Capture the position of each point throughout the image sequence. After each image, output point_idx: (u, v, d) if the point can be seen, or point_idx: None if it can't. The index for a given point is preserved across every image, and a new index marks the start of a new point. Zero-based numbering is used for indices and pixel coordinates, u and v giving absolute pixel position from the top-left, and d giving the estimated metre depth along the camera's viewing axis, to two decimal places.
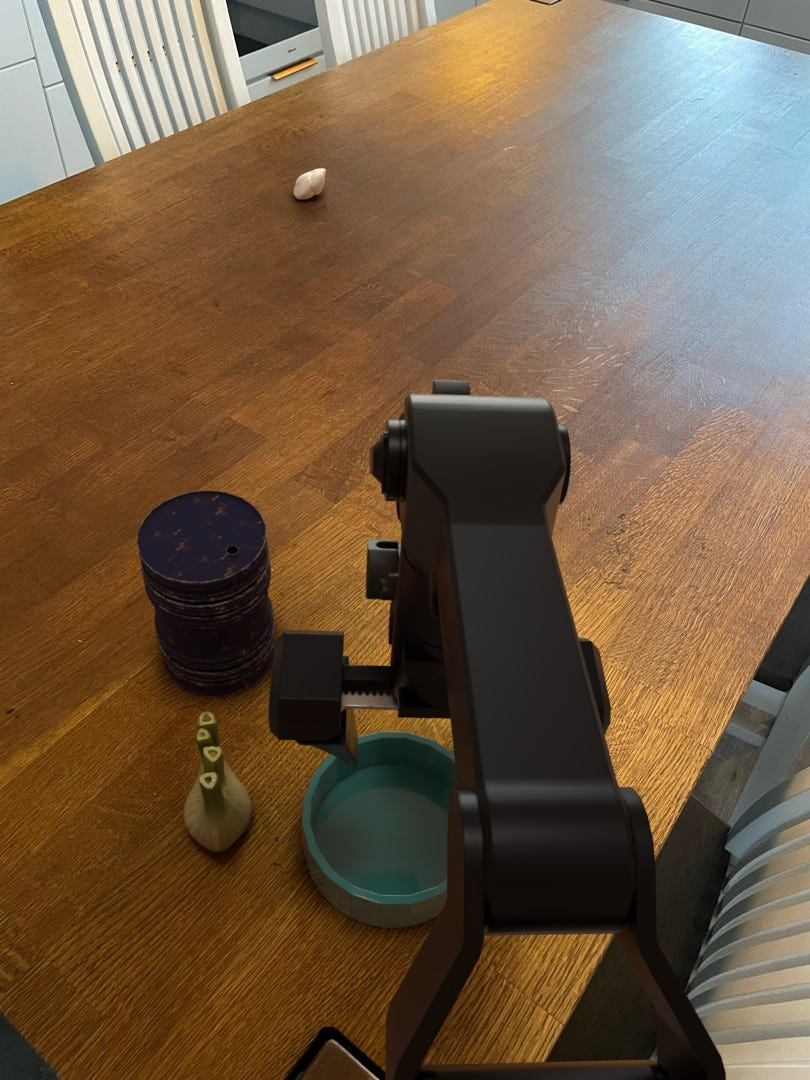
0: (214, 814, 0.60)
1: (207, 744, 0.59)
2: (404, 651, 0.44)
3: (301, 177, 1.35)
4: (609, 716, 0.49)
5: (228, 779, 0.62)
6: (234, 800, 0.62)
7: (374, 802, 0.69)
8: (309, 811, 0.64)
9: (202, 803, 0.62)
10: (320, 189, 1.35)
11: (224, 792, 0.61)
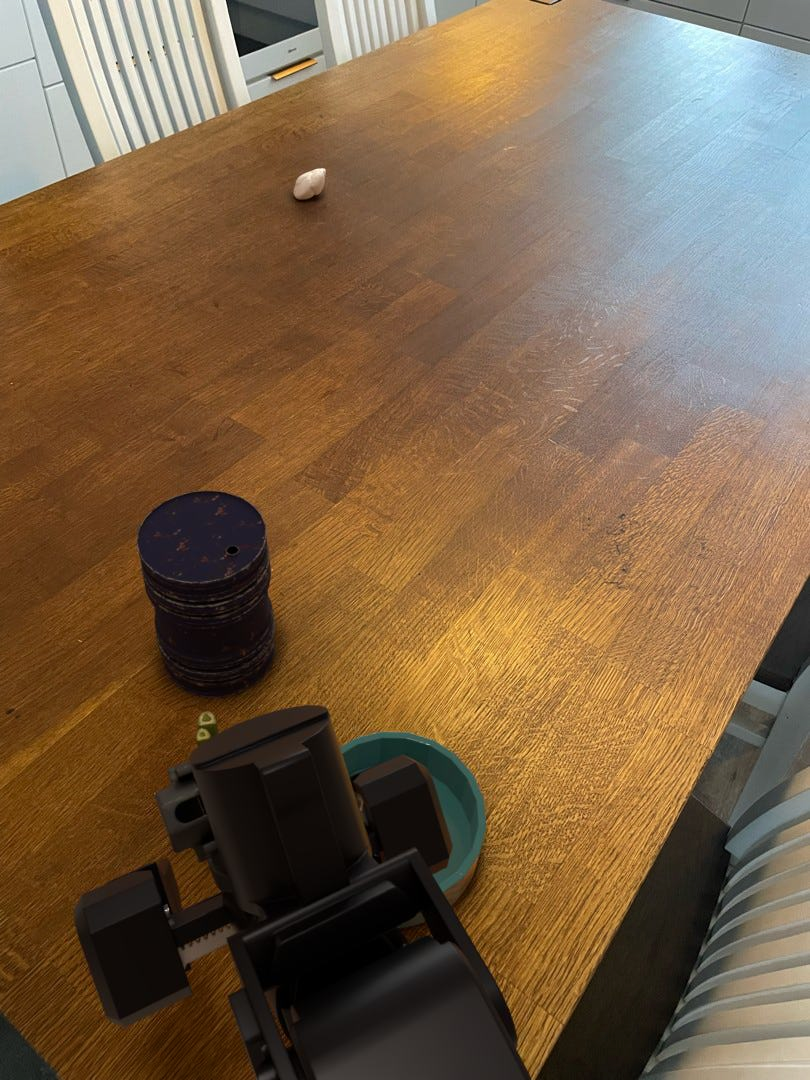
0: None
1: None
2: None
3: (301, 177, 1.35)
4: None
5: None
6: None
7: None
8: None
9: None
10: (320, 189, 1.35)
11: None
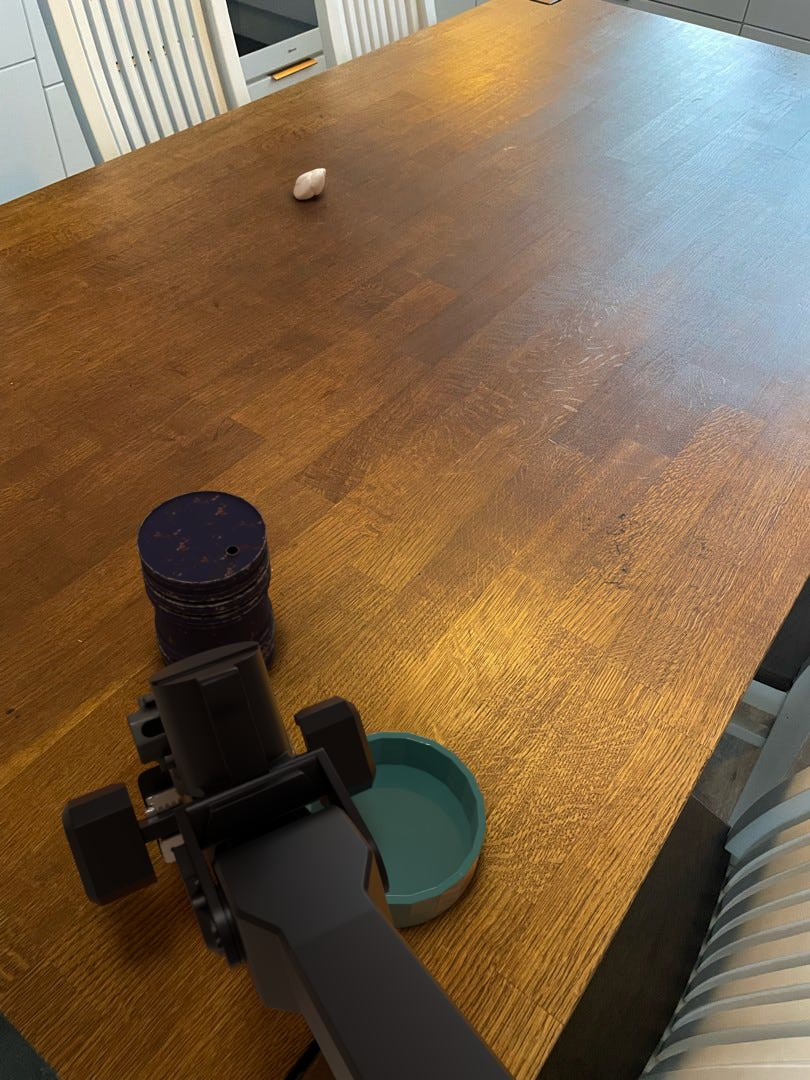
0: None
1: None
2: None
3: (301, 177, 1.35)
4: (375, 775, 0.58)
5: None
6: None
7: (374, 802, 0.69)
8: None
9: None
10: (320, 189, 1.35)
11: None
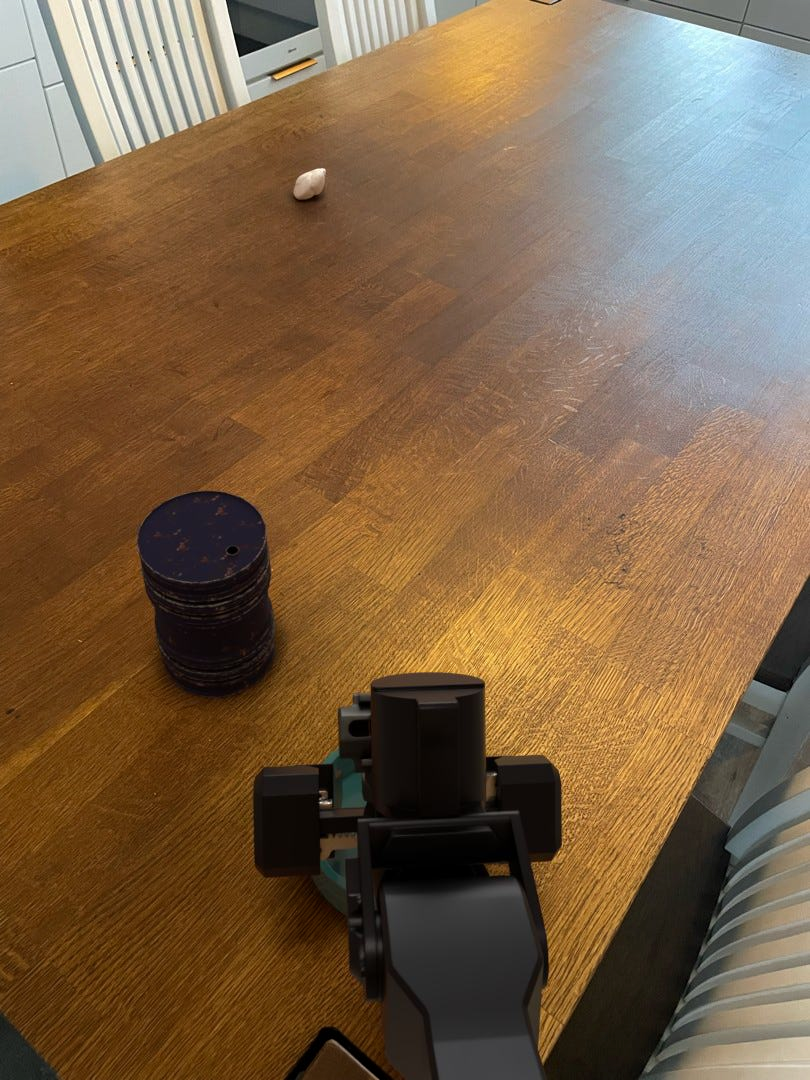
0: None
1: None
2: None
3: (301, 177, 1.35)
4: (559, 849, 0.55)
5: None
6: None
7: None
8: None
9: None
10: (320, 189, 1.35)
11: None
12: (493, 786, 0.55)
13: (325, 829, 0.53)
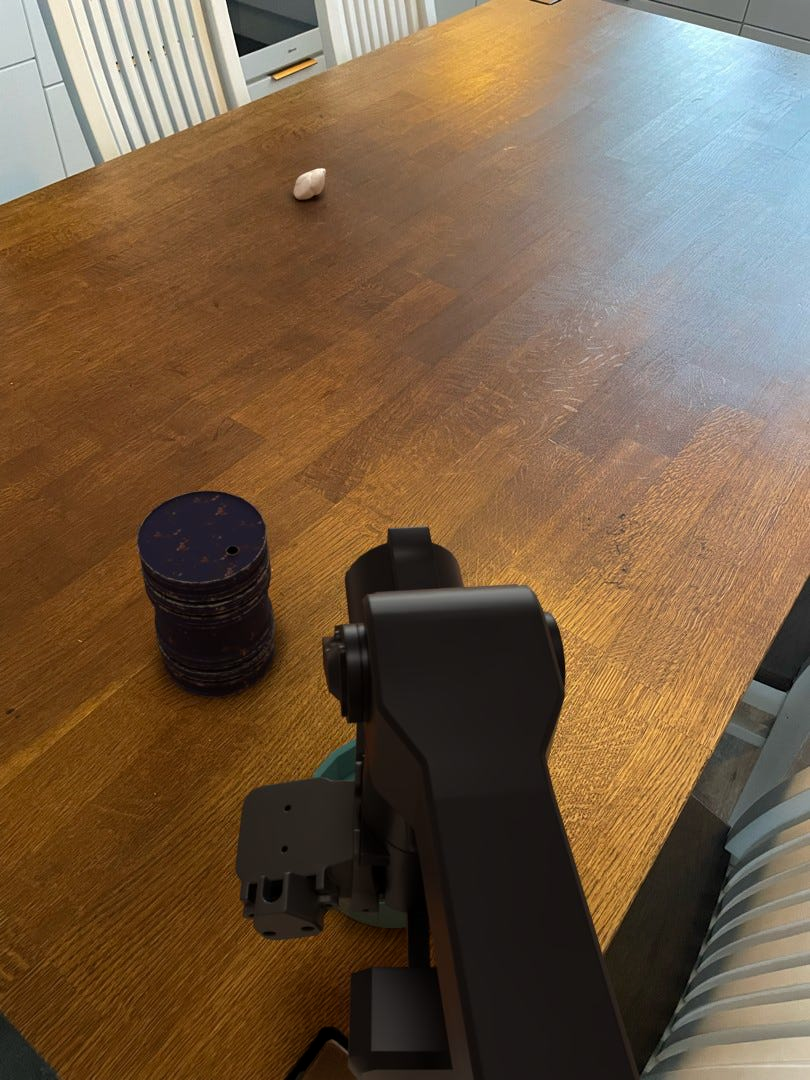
0: None
1: None
2: None
3: (301, 177, 1.35)
4: None
5: None
6: None
7: None
8: None
9: None
10: (320, 189, 1.35)
11: None
12: None
13: (424, 963, 0.40)
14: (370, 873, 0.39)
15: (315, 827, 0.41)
